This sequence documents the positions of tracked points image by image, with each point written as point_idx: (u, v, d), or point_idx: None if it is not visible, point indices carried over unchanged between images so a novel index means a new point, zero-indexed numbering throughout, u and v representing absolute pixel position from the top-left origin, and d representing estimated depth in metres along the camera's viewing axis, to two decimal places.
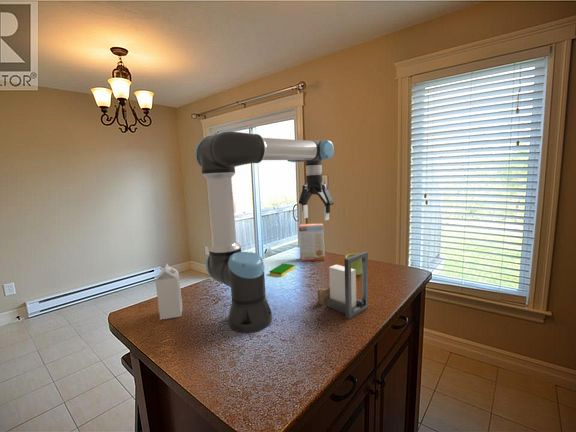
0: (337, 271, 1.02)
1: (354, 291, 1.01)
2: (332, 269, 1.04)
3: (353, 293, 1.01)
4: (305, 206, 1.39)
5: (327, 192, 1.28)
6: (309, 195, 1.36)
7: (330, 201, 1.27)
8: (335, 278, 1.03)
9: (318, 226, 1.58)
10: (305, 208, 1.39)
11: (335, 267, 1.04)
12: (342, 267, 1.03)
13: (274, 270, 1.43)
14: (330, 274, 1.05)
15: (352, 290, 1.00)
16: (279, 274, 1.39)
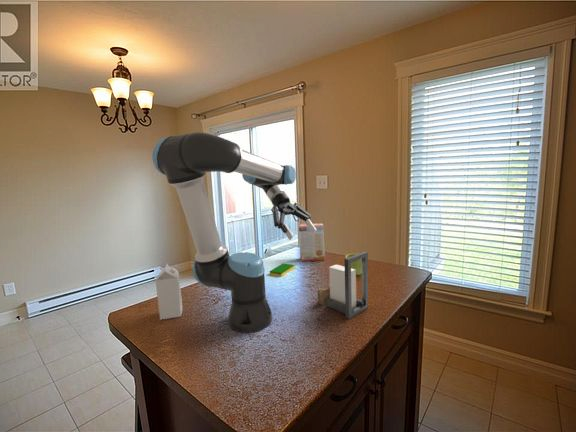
0: (337, 271, 1.02)
1: (354, 291, 1.01)
2: (332, 269, 1.04)
3: (353, 293, 1.01)
4: None
5: None
6: None
7: None
8: (335, 278, 1.03)
9: (318, 226, 1.58)
10: None
11: (335, 267, 1.04)
12: (342, 267, 1.03)
13: (274, 270, 1.43)
14: (330, 274, 1.05)
15: (352, 290, 1.00)
16: (279, 274, 1.39)
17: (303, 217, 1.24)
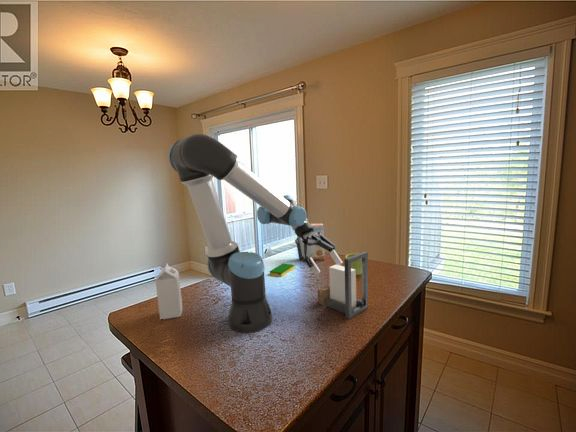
0: (337, 271, 1.02)
1: (354, 291, 1.01)
2: (332, 269, 1.04)
3: (353, 293, 1.01)
4: None
5: None
6: None
7: None
8: (335, 278, 1.03)
9: (318, 226, 1.58)
10: None
11: (335, 267, 1.04)
12: (342, 267, 1.03)
13: (274, 270, 1.43)
14: (330, 274, 1.05)
15: (352, 290, 1.00)
16: (279, 274, 1.39)
17: (328, 248, 1.17)
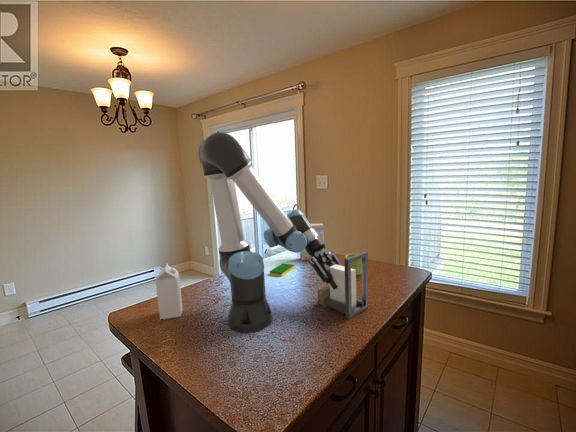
0: (337, 271, 1.02)
1: (354, 291, 1.01)
2: (332, 269, 1.04)
3: (353, 293, 1.01)
4: None
5: None
6: None
7: None
8: (335, 278, 1.03)
9: (318, 226, 1.58)
10: None
11: (335, 267, 1.04)
12: (342, 267, 1.03)
13: (274, 270, 1.43)
14: None
15: (352, 290, 1.00)
16: (279, 274, 1.39)
17: None
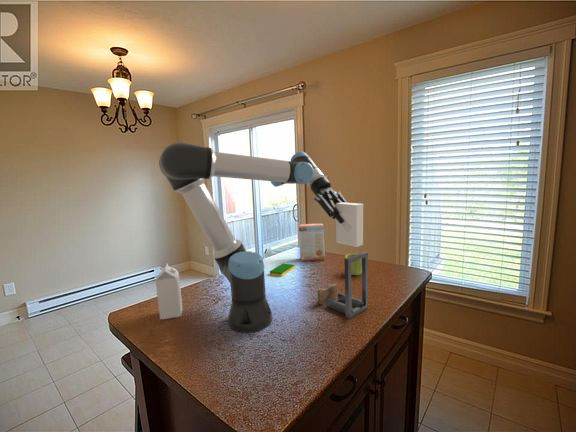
0: (344, 206, 1.01)
1: (361, 226, 1.00)
2: (339, 205, 1.02)
3: (360, 228, 1.00)
4: None
5: None
6: None
7: None
8: None
9: (318, 226, 1.58)
10: None
11: (342, 203, 1.03)
12: (349, 203, 1.02)
13: (274, 270, 1.43)
14: None
15: (359, 225, 0.99)
16: (279, 274, 1.39)
17: None
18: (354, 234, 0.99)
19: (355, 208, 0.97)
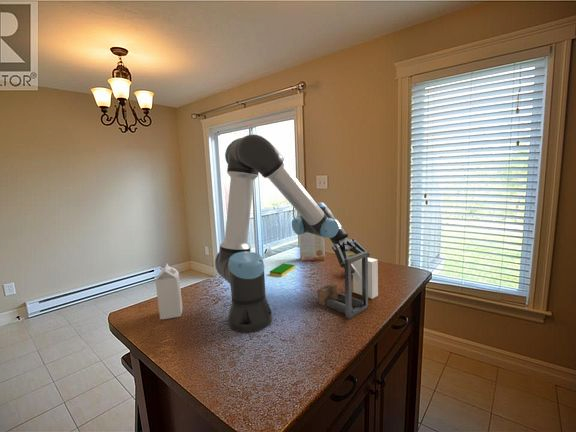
0: (360, 261, 1.12)
1: (376, 279, 1.11)
2: None
3: (375, 281, 1.11)
4: None
5: None
6: None
7: None
8: (358, 268, 1.13)
9: None
10: None
11: None
12: None
13: (274, 270, 1.43)
14: (353, 264, 1.15)
15: (374, 279, 1.10)
16: (279, 274, 1.39)
17: None
18: (370, 287, 1.10)
19: (370, 264, 1.08)
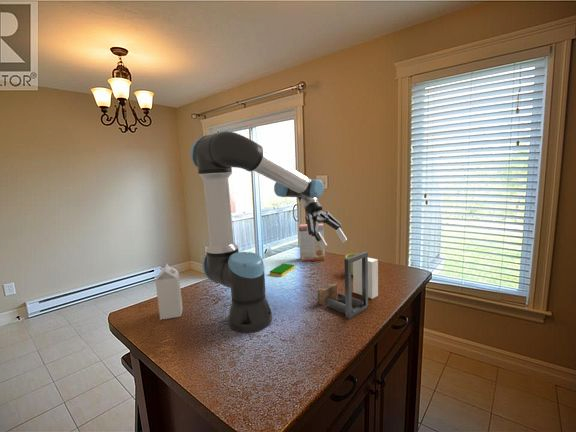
0: (360, 261, 1.12)
1: (376, 279, 1.11)
2: None
3: (375, 281, 1.11)
4: None
5: None
6: None
7: None
8: (359, 268, 1.13)
9: (318, 226, 1.58)
10: None
11: None
12: None
13: (274, 270, 1.42)
14: (354, 264, 1.15)
15: (374, 279, 1.10)
16: (279, 274, 1.39)
17: (334, 226, 1.29)
18: (370, 287, 1.10)
19: (371, 264, 1.08)
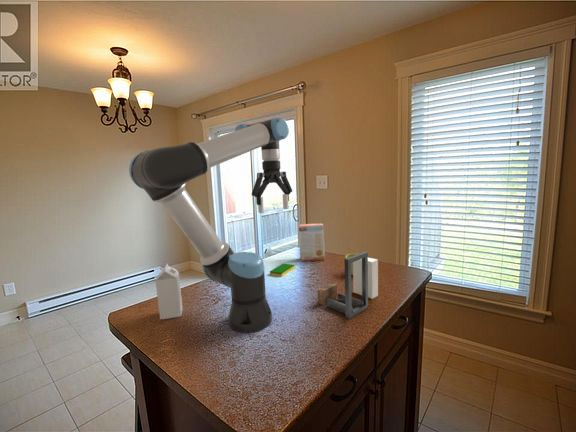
0: (360, 261, 1.12)
1: (376, 279, 1.11)
2: None
3: (375, 281, 1.11)
4: None
5: None
6: None
7: None
8: (359, 268, 1.13)
9: (318, 226, 1.58)
10: None
11: None
12: None
13: (274, 270, 1.42)
14: (354, 264, 1.15)
15: (374, 279, 1.10)
16: (279, 274, 1.39)
17: (283, 190, 1.23)
18: (370, 287, 1.10)
19: (370, 264, 1.08)
